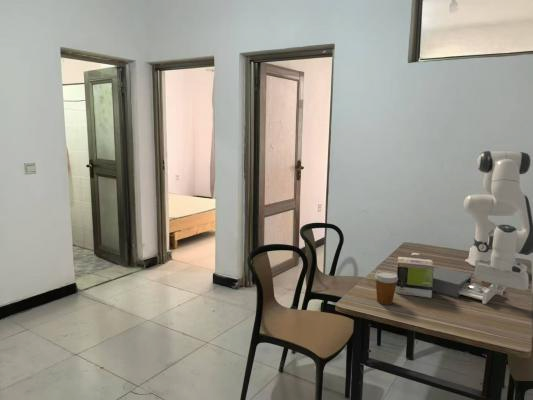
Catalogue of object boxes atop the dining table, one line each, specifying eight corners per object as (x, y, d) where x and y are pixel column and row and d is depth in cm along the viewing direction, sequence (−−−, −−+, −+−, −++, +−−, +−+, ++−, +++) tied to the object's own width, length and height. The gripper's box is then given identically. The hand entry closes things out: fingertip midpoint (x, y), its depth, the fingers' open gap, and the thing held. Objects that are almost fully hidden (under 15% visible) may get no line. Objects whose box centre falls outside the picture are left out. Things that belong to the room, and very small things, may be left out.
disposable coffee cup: (393, 308, 164) (395, 280, 162) (370, 302, 169) (371, 275, 167) (398, 300, 172) (401, 273, 170) (376, 295, 177) (378, 269, 175)
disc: (469, 286, 183) (470, 282, 183) (485, 290, 179) (485, 286, 179) (465, 290, 179) (466, 286, 178) (481, 294, 174) (481, 290, 174)
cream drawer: (461, 284, 191) (462, 274, 190) (496, 292, 181) (497, 282, 180) (448, 293, 179) (449, 283, 178) (485, 304, 169) (486, 292, 168)
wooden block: (484, 285, 191) (485, 275, 190) (495, 288, 187) (497, 278, 186) (480, 288, 187) (482, 278, 186) (492, 291, 184) (494, 280, 183)
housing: (438, 278, 199) (439, 266, 198) (470, 286, 189) (472, 274, 188) (423, 288, 186) (424, 275, 185) (457, 297, 176) (458, 284, 175)
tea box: (430, 290, 183) (433, 259, 181) (431, 298, 174) (434, 266, 172) (395, 285, 188) (398, 255, 186) (395, 293, 179) (397, 261, 176)
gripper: (473, 259, 175) (470, 289, 177) (528, 271, 161) (524, 303, 164) (478, 256, 180) (474, 285, 182) (531, 267, 166) (527, 299, 168)
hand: (498, 294), depth 173 cm, fingers closed
